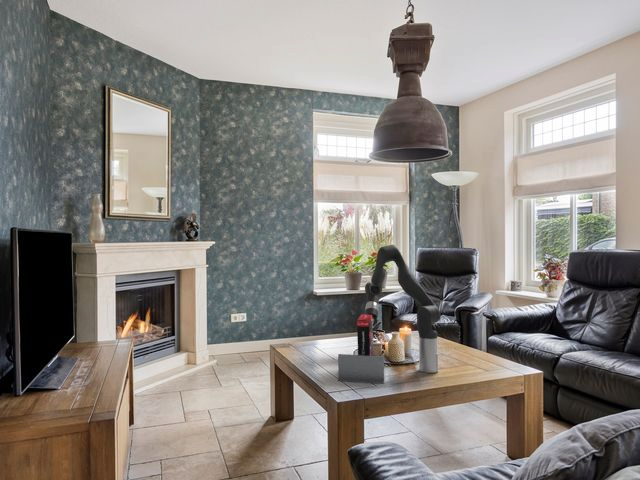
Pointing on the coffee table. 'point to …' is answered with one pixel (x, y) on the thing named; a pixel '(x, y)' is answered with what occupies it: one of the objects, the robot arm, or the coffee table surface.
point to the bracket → (361, 368)
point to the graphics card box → (365, 335)
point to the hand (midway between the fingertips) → (369, 336)
